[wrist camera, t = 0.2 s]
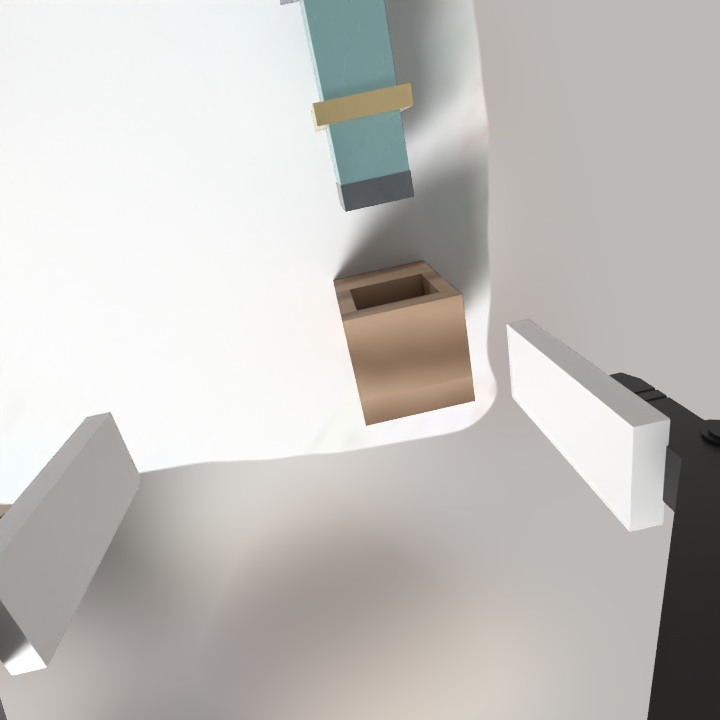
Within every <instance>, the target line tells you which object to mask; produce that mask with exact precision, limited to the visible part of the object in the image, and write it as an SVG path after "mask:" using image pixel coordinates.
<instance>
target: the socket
mask: <svg viewBox="0 0 720 720" xmlns="http://www.w3.org/2000/svg"><path fill="white" fill-rule="evenodd" d="M333 282H334V286H335V291H336V295H337V299H338V304H339V308H340V313H341V317H342V321H343V326H344V330H345V335H346V339H347V344H348V348H349V352H350V357H351V361H352V366H353V370H354V374H355V379H356V383H357V387H358V392H359V396H360V401H361V405H362V409H363V414H364V418H365V423H366V426H367V425H371V424H376V423H380V422H384V421H389V420H393V419H397V418H402V417H406V416H410V415H415V414H419V413H424V412H428V411H432V410H437V409H441V408H445V407H450V406H454V405H458V404H463V403H467V402H471V401H475V396H474V388H473V379H472V371H471V362H470V354H469V346H468V337H467V329H466V320H465V312H464V303H463V295H462V294H461V293H460V292H459V291H458V290H457V289H455V288H454V287H453V286H452V285H451V284H450V283H448V282H447V281H446V280H445V279H444V278H443V277H442V276H440V275H439V274H438V273H437V272H436V271H435V270H433V269H432V268H431V267H430V266H429V265H428V264H426V263H425V262H424V261H419V262H414V263H410V264H405V265H401V266H396V267H392V268H388V269H383V270H379V271H374V272H370V273H365V274H361V275H356V276H352V277H347V278H343V279H338V280H334V281H333Z"/></svg>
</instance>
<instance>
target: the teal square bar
mask: <svg viewBox="0 0 720 720" xmlns="http://www.w3.org/2000/svg"><path fill="white" fill-rule="evenodd" d="M299 1H300V6H301V11H302V16H303V21H304V26H305V30H306V35H307V40H308V45H309V50H310V55H311V59H312V64H313V69H314V74H315V79H316V84H317V89H318V93H319V98H320V102H318V103H313V105H312V117H313V122H314V126H315V131H321V130H325V129H326V132H327V137H328V142H329V147H330V151H331V156H332V161H333V166H334V171H335V176H336V180H337V182H336V184H337V189H338V194H339V199H340V203H341V206H342V208H343V209H344V210H345V211H351V210H355V209H360V208H365V207H369V206H374V205H378V204H383V203H387V202H392V201H396V200H401V199H405V198H410V197H414V192H413V185H412V178H411V172H410V170H409V165H408V158H407V151H406V144H405V138H404V131H403V124H402V117H401V112H402V111H404V110H406V109H408V108H410V107H412V106H414V102H413V94H412V87H411V82H410V83H405V84H401V85H397V84H396V77H395V70H394V64H393V57H392V50H391V43H390V37H389V30H388V23H387V16H386V10H385V3H384V0H299Z"/></svg>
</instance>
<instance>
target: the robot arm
mask: <svg viewBox="0 0 720 720" xmlns="http://www.w3.org/2000/svg"><path fill="white" fill-rule="evenodd" d="M507 335H508V348H509V359H510V373H511V386H512V397H513V399H514V400H515V401H516V402H517V403H518V404H519V405H520V407H521V408H522V409H523V410H524V411H525V412H526V413H527V415H528V416H529V417H530V418H531V419H532V420H533V421H534V423H535V424H536V425H537V426H538V427H539V428H540V429H541V431H542V432H543V433H544V434H545V435H546V436H547V438H548V439H549V440H550V441H551V442H552V443H553V444H554V445H555V447H556V448H557V449H558V450H559V451H560V452H561V454H562V455H563V456H564V457H565V458H566V459H567V460H568V462H569V463H570V464H571V465H572V466H573V467H574V468H575V470H576V471H577V472H578V473H579V474H580V475H581V477H582V478H583V479H584V480H585V481H586V482H587V483H588V485H589V486H590V487H591V488H592V489H593V490H594V491H595V493H596V494H597V495H598V496H599V497H600V498H601V500H602V501H603V502H604V503H605V504H606V505H607V506H608V508H609V509H610V510H611V511H612V512H613V513H614V514H615V516H616V517H617V518H618V519H619V520H620V521H621V522H622V523H623V525H624V526H625V527H626V528H627V529H628V530H629V532H630V531H635V530H640V529H644V528H648V527H652V526H657V525H661V524H663V514H664V502H665V503H666V504H667V505H668V506H669V507H670V508H671V509H672V510H673V511H674V512H675V514H674V521H673V528H672V536H671V544H670V552H669V559H668V567H667V574H666V582H665V589H664V597H663V604H662V612H661V620H660V627H659V636H658V642H657V650H656V658H655V665H654V673H653V680H652V688H651V696H650V703H649V712H648V718H647V720H720V420H703V419H701V418H700V417H698V416H697V415H695V414H694V413H692V412H691V411H689V410H688V409H686V408H685V407H683V406H682V405H680V404H678V403H677V402H675V401H674V400H672V399H671V398H667V397H666V395H665V394H663V393H662V392H660V391H659V390H655V388H654V387H652V386H651V385H649V384H648V383H646V382H645V381H643V380H642V379H640V378H637V377H633V376H630V375H627V374H624V373H617V374H612V375H608V374H606V373H605V372H603V371H602V370H600V369H599V368H598V367H596V366H595V365H594V364H592V363H591V362H589V361H588V360H586V359H585V358H583V357H582V356H581V355H580V354H578V353H577V352H575V351H574V350H572V349H571V348H570V347H568V346H567V345H565V344H564V343H563V342H561V341H560V340H558V339H557V338H556V337H554V336H553V335H551V334H550V333H549V332H547V331H546V330H544V329H543V328H541V327H540V326H539V325H537V324H536V323H534V322H533V321H532V320H530V319H527V320H522V321H518V322H513V323H509V324H507ZM141 482H142V480H141V477H140V475H139V473H138V471H137V469H136V467H135V464H134V462H133V460H132V458H131V456H130V454H129V451H128V449H127V447H126V445H125V443H124V441H123V438H122V436H121V434H120V432H119V430H118V428H117V425H116V423H115V421H114V419H113V417H112V415H111V413H110V412H109V413H104V414H100V415H95V416H91V417H87V418H86V419H85V420H84V421H83V422H82V424H81V425H80V426H79V427H78V428H77V429H76V431H75V432H74V433H73V434H72V435H71V436H70V438H69V439H68V440H67V441H66V442H65V444H64V445H63V446H62V447H61V448H60V449H59V451H58V452H57V453H56V454H55V455H54V456H53V458H52V459H51V460H50V461H49V462H48V464H47V465H46V466H45V467H44V468H43V469H42V471H41V472H40V473H39V474H38V475H37V476H36V478H35V479H34V480H33V481H32V482H31V484H30V485H29V486H28V487H27V488H26V489H25V491H24V492H23V493H22V494H21V495H20V496H19V498H18V499H17V500H16V501H15V502H14V504H13V505H12V506H11V507H10V508H9V509H8V511H7V512H6V513H5V514H3V515H2V516H1V517H0V660H1V661H2V662H3V664H4V665H5V666H6V668H7V669H8V670H9V672H10V673H11V675H16V674H21V673H25V672H29V671H33V670H38V669H42V668H46V667H47V666H48V664H49V662H50V660H51V658H52V657H53V655H54V653H55V651H56V649H57V647H58V645H59V643H60V641H61V639H62V637H63V635H64V633H65V631H66V629H67V627H68V625H69V623H70V621H71V619H72V617H73V615H74V613H75V611H76V609H77V608H78V606H79V604H80V602H81V600H82V598H83V596H84V594H85V592H86V590H87V588H88V586H89V584H90V582H91V580H92V578H93V576H94V574H95V572H96V570H97V568H98V566H99V564H100V562H101V560H102V558H103V556H104V554H105V553H106V551H107V549H108V547H109V545H110V543H111V541H112V539H113V537H114V535H115V533H116V531H117V529H118V527H119V525H120V523H121V521H122V519H123V517H124V515H125V513H126V511H127V509H128V507H129V505H130V503H131V501H132V500H133V497H134V496H135V494H136V492H137V490H138V488H139V486H140V484H141ZM0 720H7V719H6V715H5V712H4V709H3V706H2V703H1V700H0Z"/></svg>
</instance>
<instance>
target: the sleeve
mask: <svg viewBox="0 0 720 720" xmlns="http://www.w3.org/2000/svg"><path fill="white" fill-rule="evenodd" d="M297 1H299V0H280V4H281V5H283V4H288V3H293V2H297Z"/></svg>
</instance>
